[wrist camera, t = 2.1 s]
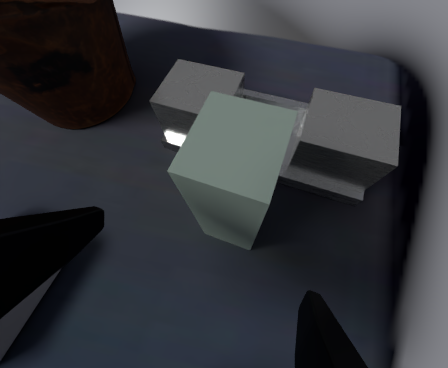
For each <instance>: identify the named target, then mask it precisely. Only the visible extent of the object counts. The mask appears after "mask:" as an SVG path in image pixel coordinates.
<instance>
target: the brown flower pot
mask: <svg viewBox="0 0 448 368" xmlns="http://www.w3.org/2000/svg"><path fill="white" fill-rule="evenodd" d="M135 82H136V79H135V76H134V73H133V71H132V68H131V65H130V61H129V58H128V55H127V51H126V47H125V43H124V39H123V36H122V32H121V29H120V25H119V21H118V17H117V14H116V10H115V7H114V3H113V0H0V94H2V95H4V96H5V97H7V98H9V99H11V100H12V101H14V102H16V103H17V104H19V105H21V106H22V107H24V108H26V109H27V110H29V111H31V112H32V113H34V114H36V115H37V116H39V117H41V118H42V119H44V120H46V121H47V122H49V123H51V124H53V125H55V126H58V127H61V128H66V129H80V128H86V127H90V126H93V125H96V124H99V123H101V122H103V121H105V120H107V119H109V118H110V117H112V116H113V115H115V114H116V113H117V112H118V111H119V110H120V109H121V108H122V107H123V106H124V105H125V104H126V103H127V101H128V100H129V98H130V97H131V94H132V91H133V88H134V86H135Z"/></svg>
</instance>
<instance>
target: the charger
mask: <svg viewBox="0 0 448 368" xmlns="http://www.w3.org/2000/svg"><path fill="white" fill-rule="evenodd" d="M60 270H61V269H60ZM60 270H59V271H60ZM59 271H57V272H56V273H55V274H54V275H53V276H51V277H50V278H49V279H48V280H47V281H45V282H44V283H43V284H42V285H41V286H39V287H38V288H37V289H36V290H35V291H33V292H32V293H31V294H30V295H29V296H28V297H26V298H25V299H24V300H23V301H22V302H20V303H19V304H18V305H17V306H16V307H14V308H13V309H12V310H11V311H10V312H8V313H7V314H6V315H5V316H4V317H2V318H1V319H0V361H1V359H2V358H3V356H4V355H5V353H6V352H7V350H8V349H9V347H10V346H11V344H12V343H13V341H14V340H15V338H16V337H17V335H18V334H19V332H20V331H21V329H22V328H23V326H24V324H25V323H26V321H27V320H28V318H29V317H30V315H31V314H32V312H33V311H34V309H35V308H36V306H37V305H38V303H39V302H40V300H41V299H42V297H43V296H44V294H45V292H46V291H47V289H48V288H49V286H50V285H51V283H52V282H53V280H54V279H55V277H56V276H57V274H58V273H59Z"/></svg>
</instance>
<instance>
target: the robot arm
mask: <svg viewBox="0 0 448 368" xmlns="http://www.w3.org/2000/svg"><path fill="white" fill-rule="evenodd" d="M103 227H104V210H103V209H101V208H98V207H95V206H93V207H86V208H78V209H71V210H64V211H56V212H49V213H42V214H34V215H27V216H19V217H12V218H5V219H0V319H1V318H2V317H4V316H5V315H6V314H7V313H8V312H10V311H11V310H12V309H13V308H14V307H16V306H17V305H18V304H19V303H20V302H22V301H23V300H24V299H25V298H26V297H28V296H29V295H30V294H31V293H32V292H33V291H35V290H36V289H37V288H38V287H39V286H41V285H42V284H43V283H44V282H45V281H47V280H48V279H49V278H50V277H51V276H53V275H54V274H55V273H56V272H57V271H59V270H60V269H61V268H62V267H63V266H64V265H66V264H67V263H68V262H69V261H70V260H72V259H73V258H74V257H75V256H76V255H77V254H78V253H79V252H80V251H81V250H82V249H83V248H84V247H85V246H86V245H87V244H88V243H89V242H90V241H91V240H92V239H93V238H94V237H95V236H96V235H97V234H98V233H99V232H100V231H101V230H102V229H103ZM295 368H368V367H367V365H366V364H365V362H364V361H363V359H362V358H361V356H360V355H359V353H358V352H357V350H356V349H355V347H354V345H353V344H352V342H351V341H350V339H349V338H348V336H347V335H346V333H345V332H344V330H343V329H342V327H341V326H340V324H339V323H338V321H337V319H336V318H335V316H334V315H333V313H332V312H331V310H330V309H329V307H328V306H327V304H326V303H325V301H324V300H323V298H322V296H321V295H320V294H318V293H316V292H313V291H311V290H308V291H307V292H306V294H305V296H304V298H303V300H302V302H301V304H300V307H299V311H298V322H297V334H296V346H295Z"/></svg>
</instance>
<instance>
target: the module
mask: <svg viewBox="0 0 448 368" xmlns="http://www.w3.org/2000/svg"><path fill="white" fill-rule="evenodd" d="M297 113H298V111H295V110H290V109H286V108H282V107H278V106H273V105H269V104H265V103H261V102H256V101H252V100H248V99H244V98H239V97H235V96H231V95H227V94H222V93H218V92H214V91H211V92H210V94H209V96H208V98H207V99H206V101H205V103H204V105H203V107H202V109H201V110H200V112H199V114H198V116H197V118H196V120H195V121H194V123H193V125H192V127H191V129H190V131H189V132H188V134H187V136H186V138H185V140H184V142H183V143H182V145H181V147H180V149H179V151H178V153H177V154H176V156H175V158H174V160H173V162H172V164H171V165H170V167H169V169H168V173H169V175H170V176H171V178H172V180H173V181H174V183H175V185H176V186H177V188H178V190H179V191H180V193H181V195H182V196H183V198H184V200H185V201H186V203H187V205H188V206H189V208H190V210H191V211H192V213H193V215H194V216H195V218H196V220H197V221H198V223H199V224H200V226H201V228H202V229H203V231H204V233H205V234H207V235H210V236H213V237H215V238H218V239H221V240H223V241H226V242H229V243H231V244H234V245H237V246H239V247H242V248H245V249H247V250H251V247H252V245H253V243H254V240H255V238H256V235H257V233H258V231H259V228H260V226H261V224H262V221H263V219H264V217H265V214H266V212H267V210H268V207H269V205H270V202H271V199H272V195H273V192H274V189H275V185H276V182H277V179H278V176H279V172H280V169H281V166H282V162H283V159H284V156H285V153H286V149H287V146H288V143H289V139H290V136H291V133H292V130H293V126H294V123H295V120H296V116H297Z"/></svg>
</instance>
